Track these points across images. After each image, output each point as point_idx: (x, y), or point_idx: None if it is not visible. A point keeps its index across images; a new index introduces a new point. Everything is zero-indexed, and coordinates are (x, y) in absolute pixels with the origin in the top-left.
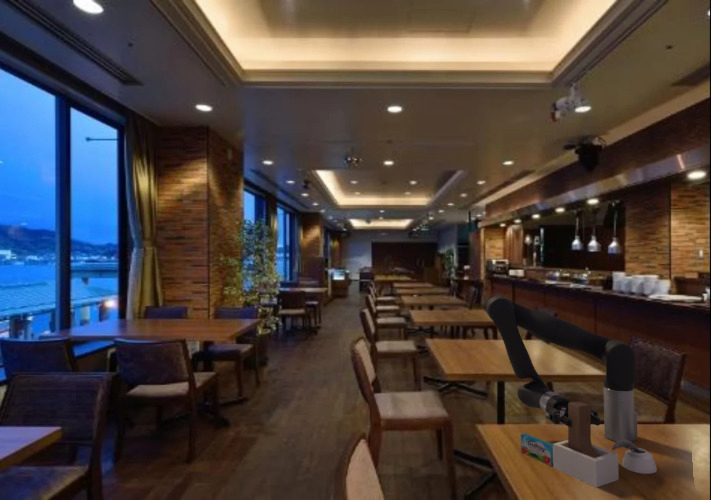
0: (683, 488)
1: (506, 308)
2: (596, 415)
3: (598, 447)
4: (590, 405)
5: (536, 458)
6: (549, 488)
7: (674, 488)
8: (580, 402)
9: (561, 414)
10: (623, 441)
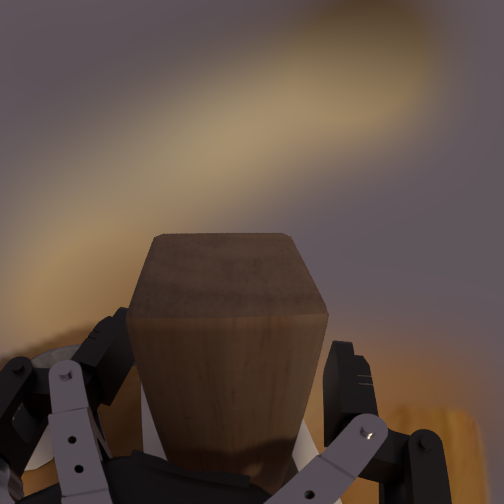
0: (67, 331)
1: None
2: (37, 372)
3: (150, 428)
4: (158, 236)
5: None
6: (399, 426)
7: (82, 338)
8: (181, 276)
9: (370, 426)
10: (76, 345)
